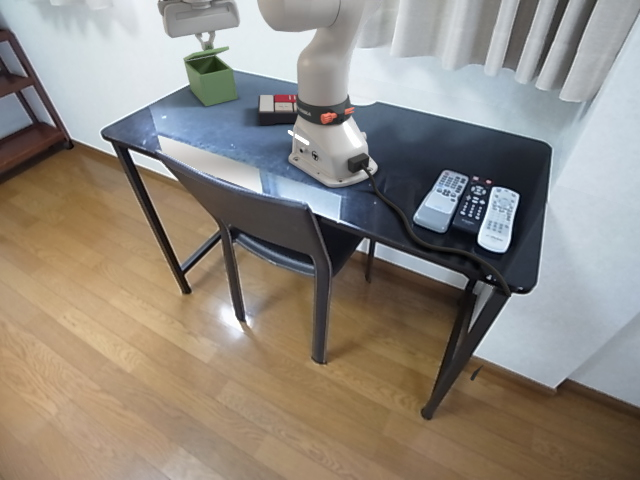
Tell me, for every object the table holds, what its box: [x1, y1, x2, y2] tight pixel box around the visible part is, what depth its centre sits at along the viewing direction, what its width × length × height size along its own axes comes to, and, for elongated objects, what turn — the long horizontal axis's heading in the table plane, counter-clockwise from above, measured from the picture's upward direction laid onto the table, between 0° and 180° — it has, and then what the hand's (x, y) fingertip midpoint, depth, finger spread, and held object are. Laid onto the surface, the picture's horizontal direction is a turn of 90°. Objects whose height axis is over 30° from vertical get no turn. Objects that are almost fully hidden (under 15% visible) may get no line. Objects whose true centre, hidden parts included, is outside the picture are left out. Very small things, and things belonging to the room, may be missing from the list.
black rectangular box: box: [257, 94, 298, 126], centre depth 105 cm, size 11×4×15 cm
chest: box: [183, 55, 238, 107], centre depth 113 cm, size 14×10×9 cm
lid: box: [183, 45, 230, 62], centre depth 108 cm, size 14×10×1 cm
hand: (208, 49), depth 104 cm, fingers closed, pressing on lid
